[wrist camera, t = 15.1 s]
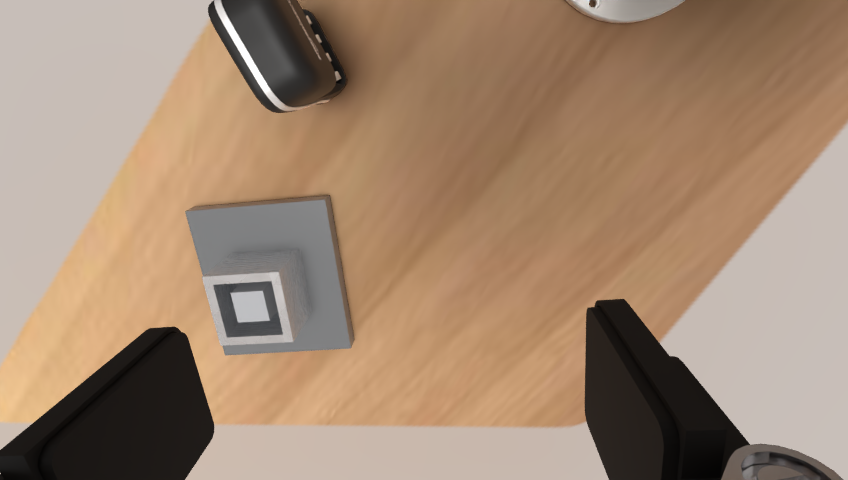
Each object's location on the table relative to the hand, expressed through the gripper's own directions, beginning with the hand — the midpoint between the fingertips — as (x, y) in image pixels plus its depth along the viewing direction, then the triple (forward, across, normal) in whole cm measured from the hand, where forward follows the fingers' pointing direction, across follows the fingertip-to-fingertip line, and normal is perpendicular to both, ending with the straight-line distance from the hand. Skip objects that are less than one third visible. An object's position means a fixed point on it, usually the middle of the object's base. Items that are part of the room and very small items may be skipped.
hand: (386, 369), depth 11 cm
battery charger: (+28, +8, -9) cm, 31 cm away
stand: (+28, +15, +9) cm, 33 cm away
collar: (+27, +15, +9) cm, 32 cm away
